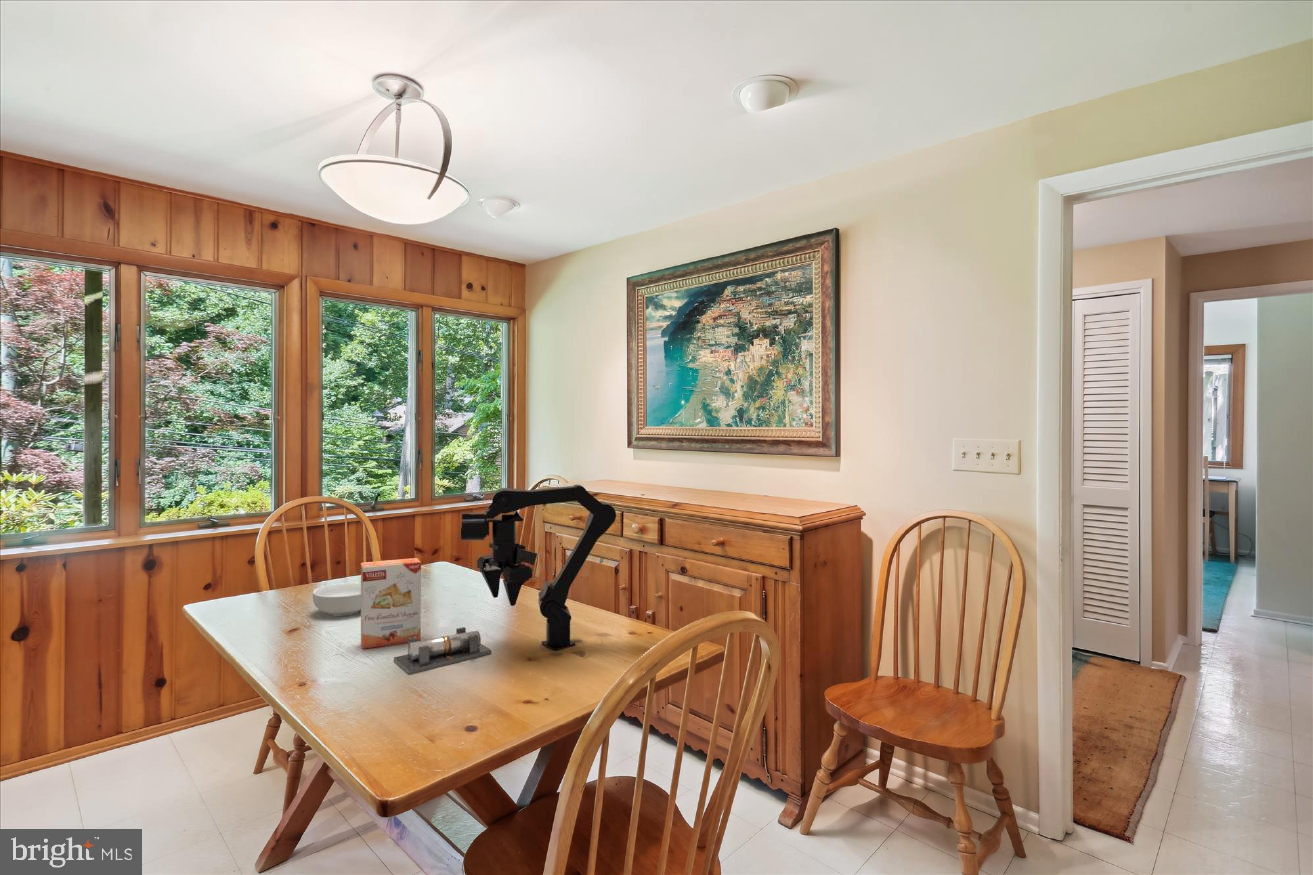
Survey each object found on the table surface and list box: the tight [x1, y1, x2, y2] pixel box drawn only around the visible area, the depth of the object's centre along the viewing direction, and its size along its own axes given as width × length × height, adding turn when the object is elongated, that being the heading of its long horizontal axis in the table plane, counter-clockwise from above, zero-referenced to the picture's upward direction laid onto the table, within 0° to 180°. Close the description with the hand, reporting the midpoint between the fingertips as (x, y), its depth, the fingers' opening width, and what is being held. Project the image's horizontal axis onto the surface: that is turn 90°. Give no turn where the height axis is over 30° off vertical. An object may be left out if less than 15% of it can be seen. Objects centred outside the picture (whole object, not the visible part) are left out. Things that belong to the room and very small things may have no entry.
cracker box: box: [360, 557, 422, 650], centre depth 165 cm, size 14×6×21 cm, turn 118°
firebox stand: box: [393, 626, 492, 675], centre depth 155 cm, size 10×20×5 cm, turn 130°
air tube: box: [409, 629, 482, 660], centre depth 155 cm, size 16×4×4 cm, turn 124°
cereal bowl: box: [312, 581, 361, 617], centre depth 190 cm, size 17×17×7 cm
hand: (504, 601), depth 160 cm, fingers open, 9 cm apart
